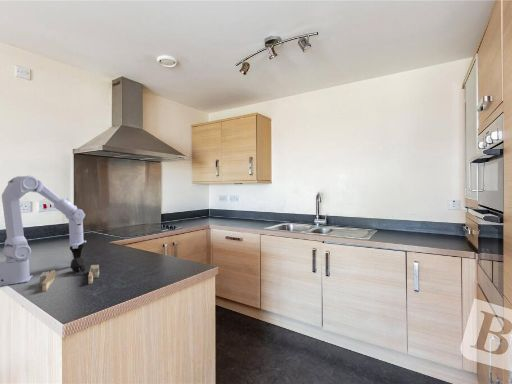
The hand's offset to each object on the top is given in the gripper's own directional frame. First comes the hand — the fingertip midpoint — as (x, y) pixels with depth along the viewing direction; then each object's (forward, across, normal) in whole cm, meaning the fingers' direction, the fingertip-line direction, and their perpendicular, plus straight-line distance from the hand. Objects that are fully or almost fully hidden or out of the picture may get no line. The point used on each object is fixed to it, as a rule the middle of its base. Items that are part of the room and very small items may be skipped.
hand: (77, 260), depth 133 cm
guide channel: (+3, -24, 0) cm, 24 cm away
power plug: (+3, -14, -2) cm, 14 cm away
